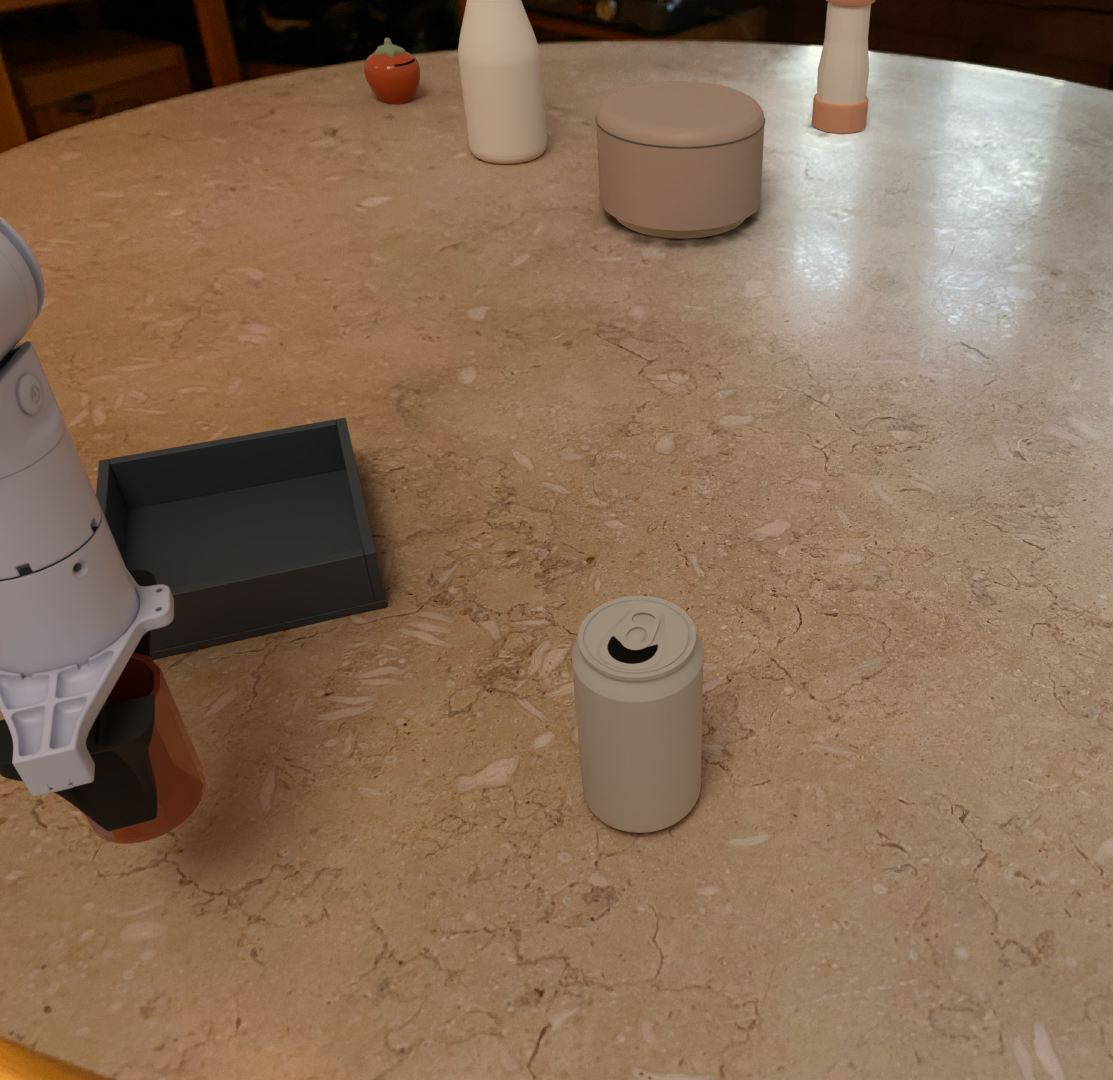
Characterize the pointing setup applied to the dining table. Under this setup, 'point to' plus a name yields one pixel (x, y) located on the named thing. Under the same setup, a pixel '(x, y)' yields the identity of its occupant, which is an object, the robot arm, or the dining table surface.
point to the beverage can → (639, 712)
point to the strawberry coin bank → (392, 73)
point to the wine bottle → (501, 82)
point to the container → (680, 158)
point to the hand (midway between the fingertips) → (133, 770)
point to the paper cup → (159, 755)
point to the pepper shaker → (843, 68)
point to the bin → (246, 532)
